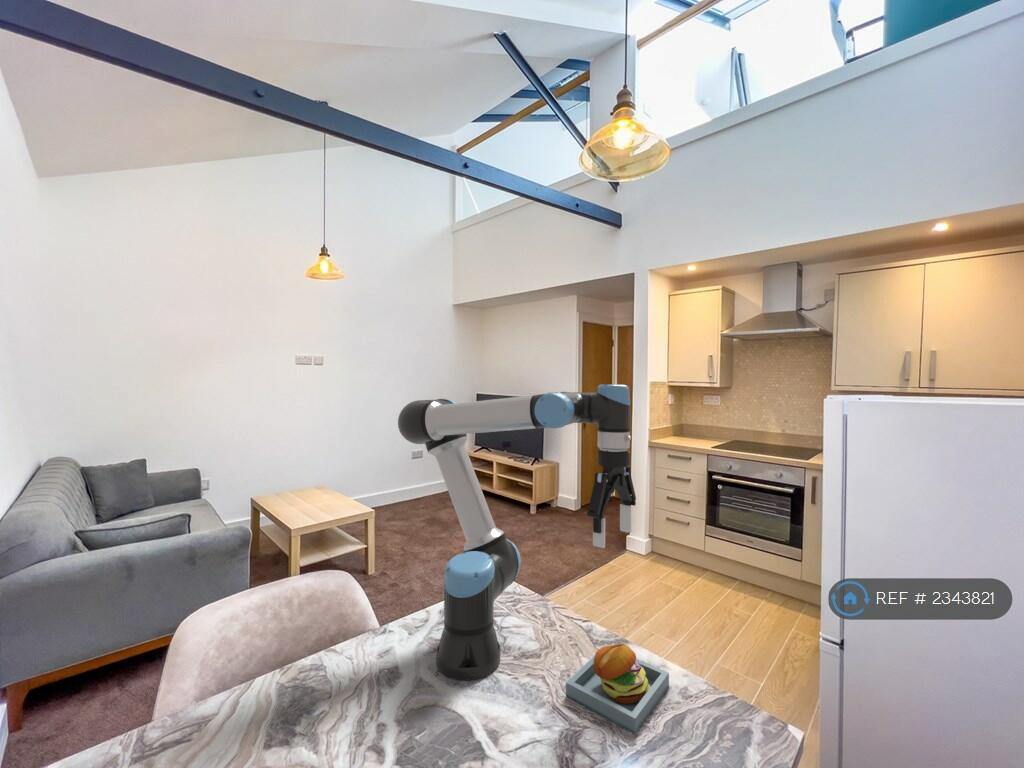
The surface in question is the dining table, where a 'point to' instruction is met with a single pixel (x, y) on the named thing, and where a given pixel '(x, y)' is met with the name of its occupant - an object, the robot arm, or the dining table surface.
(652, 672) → the bin
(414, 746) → the dining table surface
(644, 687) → the cheeseburger
